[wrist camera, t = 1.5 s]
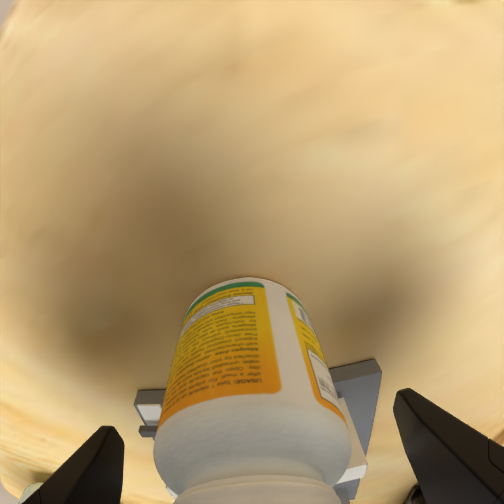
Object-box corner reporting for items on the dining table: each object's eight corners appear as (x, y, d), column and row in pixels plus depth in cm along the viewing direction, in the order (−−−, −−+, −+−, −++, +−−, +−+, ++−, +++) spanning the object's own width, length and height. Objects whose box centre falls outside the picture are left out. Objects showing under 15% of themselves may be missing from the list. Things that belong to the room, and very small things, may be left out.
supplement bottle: (330, 299, 13) (430, 506, 4) (274, 387, 15) (302, 573, 6) (208, 252, 12) (166, 502, 3) (167, 354, 14) (124, 556, 5)
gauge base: (351, 489, 20) (365, 537, 15) (207, 508, 20) (206, 557, 15) (374, 358, 15) (414, 432, 10) (138, 391, 15) (115, 469, 10)
